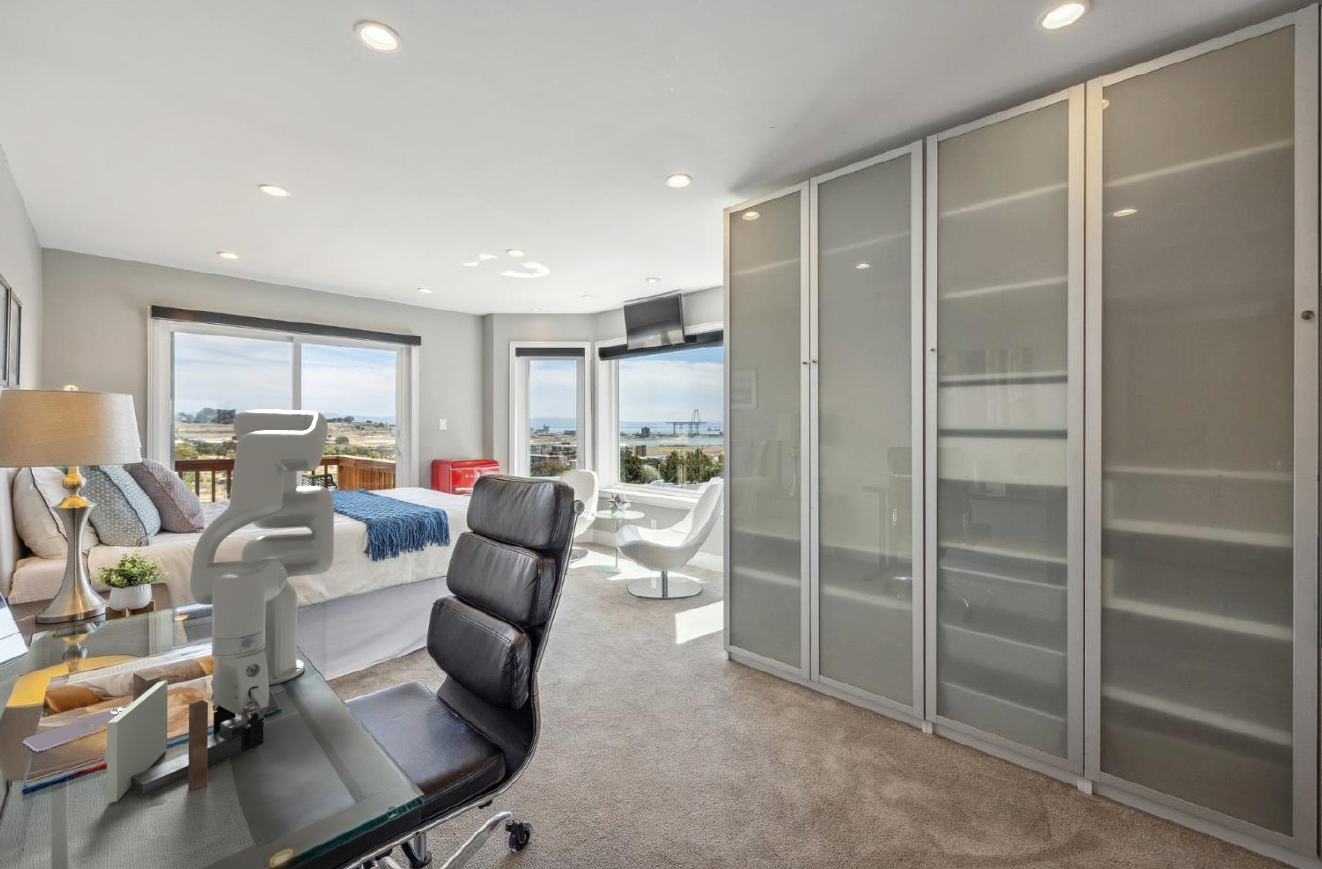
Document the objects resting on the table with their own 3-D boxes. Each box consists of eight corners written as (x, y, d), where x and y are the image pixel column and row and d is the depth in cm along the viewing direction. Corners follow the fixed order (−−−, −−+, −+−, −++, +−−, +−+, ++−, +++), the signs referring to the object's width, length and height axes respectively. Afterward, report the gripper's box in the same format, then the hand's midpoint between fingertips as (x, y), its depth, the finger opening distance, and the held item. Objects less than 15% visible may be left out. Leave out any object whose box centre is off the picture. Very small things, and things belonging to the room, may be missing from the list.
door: (153, 748, 100) (154, 680, 100) (169, 747, 100) (169, 678, 100) (98, 804, 85) (98, 723, 85) (116, 801, 86) (117, 721, 86)
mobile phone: (20, 737, 102) (129, 702, 115) (20, 743, 102) (129, 707, 115) (36, 750, 98) (147, 712, 112) (36, 755, 98) (147, 717, 112)
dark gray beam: (245, 740, 104) (245, 713, 104) (257, 746, 102) (257, 718, 102) (131, 789, 90) (131, 757, 90) (142, 797, 88) (143, 764, 88)
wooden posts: (132, 746, 101) (133, 672, 101) (145, 741, 103) (146, 669, 102) (193, 790, 90) (194, 707, 89) (207, 784, 91) (207, 702, 91)
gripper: (288, 645, 99) (287, 743, 100) (238, 626, 108) (237, 716, 108) (239, 660, 93) (238, 765, 93) (190, 638, 101) (189, 734, 102)
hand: (238, 739), depth 101 cm, fingers open, 9 cm apart
